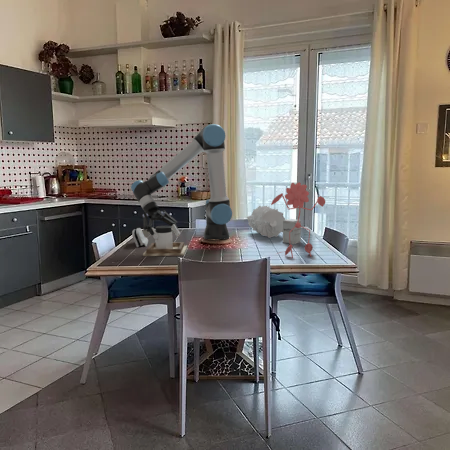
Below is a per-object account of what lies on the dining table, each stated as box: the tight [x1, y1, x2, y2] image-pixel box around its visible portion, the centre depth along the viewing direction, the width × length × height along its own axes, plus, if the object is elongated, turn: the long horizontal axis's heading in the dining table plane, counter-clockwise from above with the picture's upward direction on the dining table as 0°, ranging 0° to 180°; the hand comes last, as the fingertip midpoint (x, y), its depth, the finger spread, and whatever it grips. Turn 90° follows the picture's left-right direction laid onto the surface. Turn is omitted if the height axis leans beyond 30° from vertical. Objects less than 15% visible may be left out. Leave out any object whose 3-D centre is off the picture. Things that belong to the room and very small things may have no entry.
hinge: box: [131, 227, 149, 248], centre depth 243 cm, size 17×5×10 cm, turn 6°
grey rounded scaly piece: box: [246, 205, 286, 239], centre depth 262 cm, size 18×18×25 cm
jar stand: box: [142, 241, 188, 257], centre depth 223 cm, size 20×19×3 cm
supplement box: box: [282, 218, 302, 245], centre depth 239 cm, size 7×7×13 cm
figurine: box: [270, 181, 326, 259], centre depth 209 cm, size 15×26×35 cm, turn 103°
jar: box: [154, 225, 174, 249], centre depth 221 cm, size 9×8×12 cm
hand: (168, 237), depth 220 cm, fingers open, 13 cm apart
